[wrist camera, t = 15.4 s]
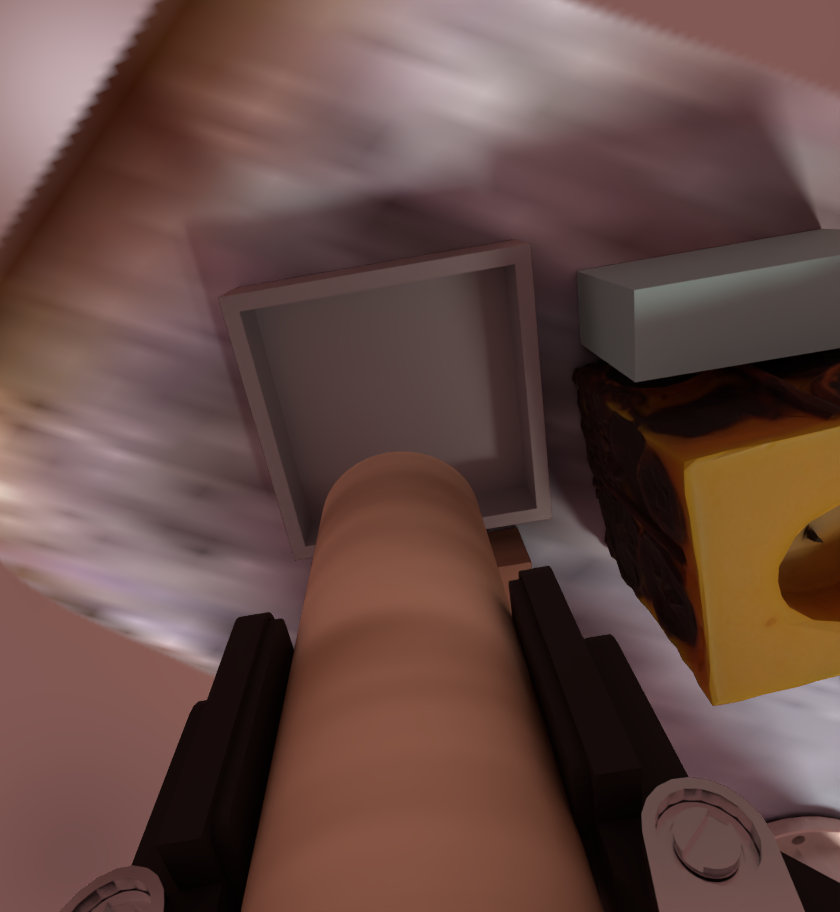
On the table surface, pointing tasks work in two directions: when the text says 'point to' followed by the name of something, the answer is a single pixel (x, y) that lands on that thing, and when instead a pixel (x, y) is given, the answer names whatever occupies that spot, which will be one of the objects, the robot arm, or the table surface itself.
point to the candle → (726, 513)
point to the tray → (397, 377)
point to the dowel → (412, 721)
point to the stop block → (714, 306)
